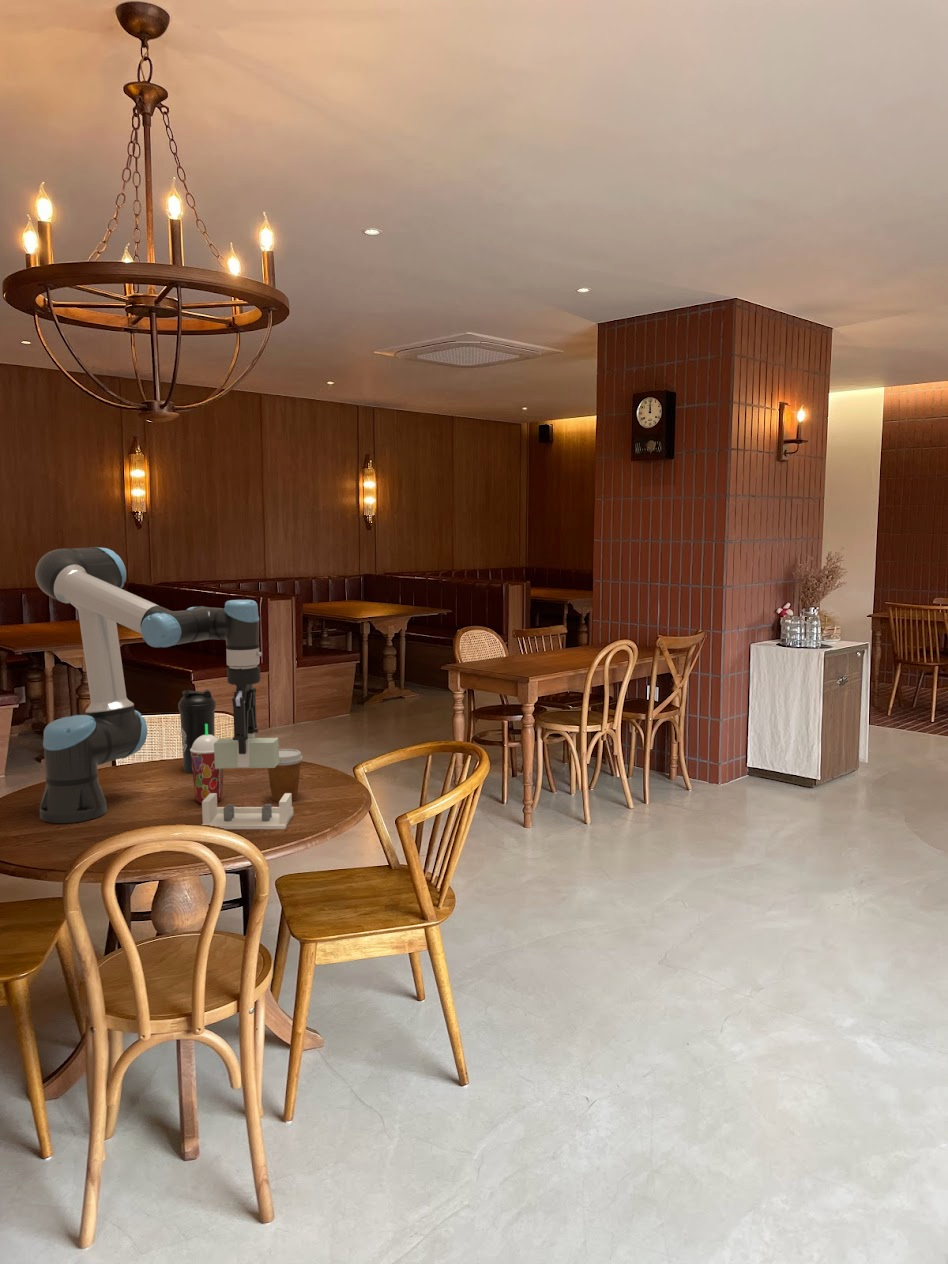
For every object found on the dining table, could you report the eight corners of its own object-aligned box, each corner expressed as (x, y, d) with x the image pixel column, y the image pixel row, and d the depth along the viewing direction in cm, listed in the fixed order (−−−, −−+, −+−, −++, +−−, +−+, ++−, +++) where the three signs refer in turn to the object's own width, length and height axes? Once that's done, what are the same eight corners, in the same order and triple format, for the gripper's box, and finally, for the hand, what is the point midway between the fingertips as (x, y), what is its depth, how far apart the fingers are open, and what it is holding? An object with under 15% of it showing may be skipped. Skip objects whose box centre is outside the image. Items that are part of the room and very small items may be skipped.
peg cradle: (200, 829, 222) (199, 804, 221) (213, 815, 232) (212, 791, 232) (284, 829, 222) (284, 804, 221) (293, 815, 232) (292, 791, 232)
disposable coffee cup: (295, 805, 240) (294, 758, 239) (259, 802, 242) (258, 756, 241) (309, 794, 250) (308, 749, 248) (274, 792, 252) (273, 747, 250)
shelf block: (215, 768, 223) (213, 743, 222) (221, 762, 228) (219, 738, 227) (274, 767, 223) (273, 742, 222) (279, 762, 228) (278, 737, 227)
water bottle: (180, 766, 277) (177, 688, 274) (216, 764, 280) (214, 686, 277) (180, 775, 268) (177, 695, 265) (218, 772, 271) (215, 693, 268)
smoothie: (231, 797, 247) (229, 721, 245) (214, 806, 239) (212, 728, 237) (203, 794, 249) (200, 719, 247) (185, 804, 241) (182, 726, 239)
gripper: (250, 672, 214) (253, 773, 216) (267, 660, 232) (270, 754, 234) (217, 672, 214) (220, 773, 216) (237, 660, 232) (240, 754, 234)
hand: (246, 763), depth 225 cm, fingers closed on shelf block, 5 cm apart
